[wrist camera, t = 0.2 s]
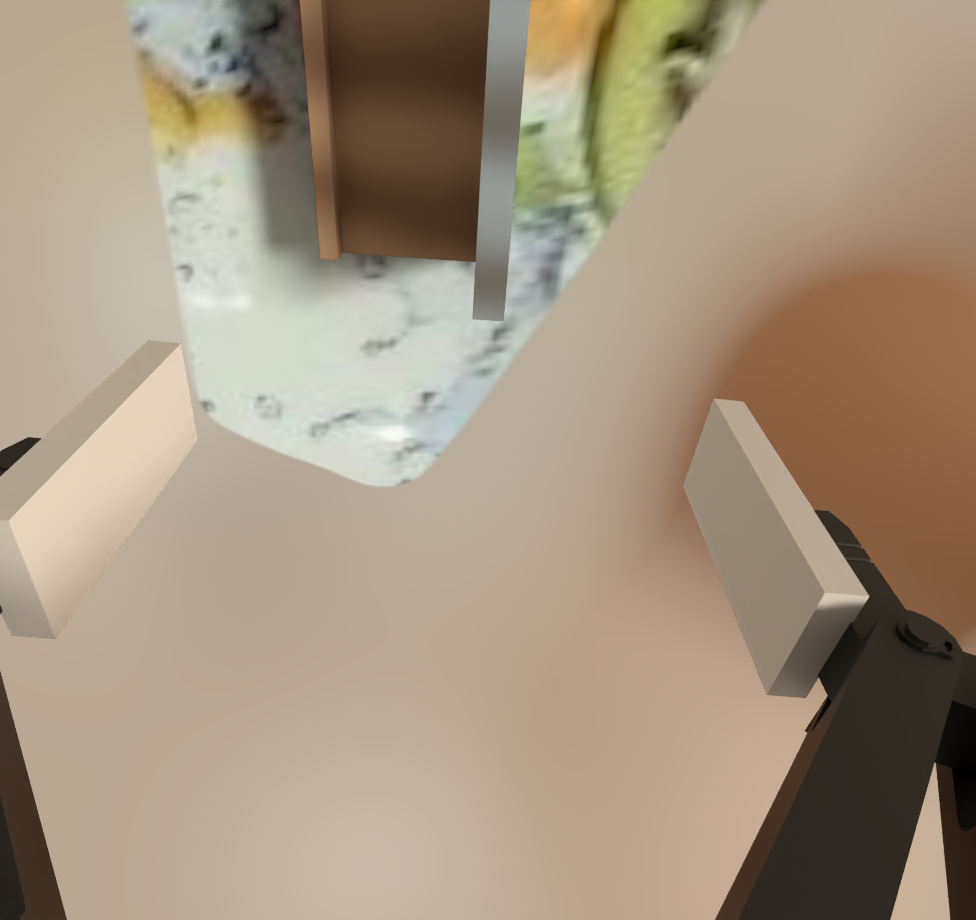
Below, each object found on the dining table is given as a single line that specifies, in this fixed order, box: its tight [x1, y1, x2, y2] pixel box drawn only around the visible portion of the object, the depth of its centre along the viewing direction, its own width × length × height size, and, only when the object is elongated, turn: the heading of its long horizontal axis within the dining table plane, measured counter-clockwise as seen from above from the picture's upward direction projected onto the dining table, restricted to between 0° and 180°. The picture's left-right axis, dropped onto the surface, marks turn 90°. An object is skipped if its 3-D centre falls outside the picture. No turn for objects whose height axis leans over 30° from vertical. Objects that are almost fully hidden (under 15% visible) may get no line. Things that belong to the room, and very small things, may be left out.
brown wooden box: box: [300, 0, 530, 321], centre depth 30 cm, size 20×10×12 cm, turn 176°
